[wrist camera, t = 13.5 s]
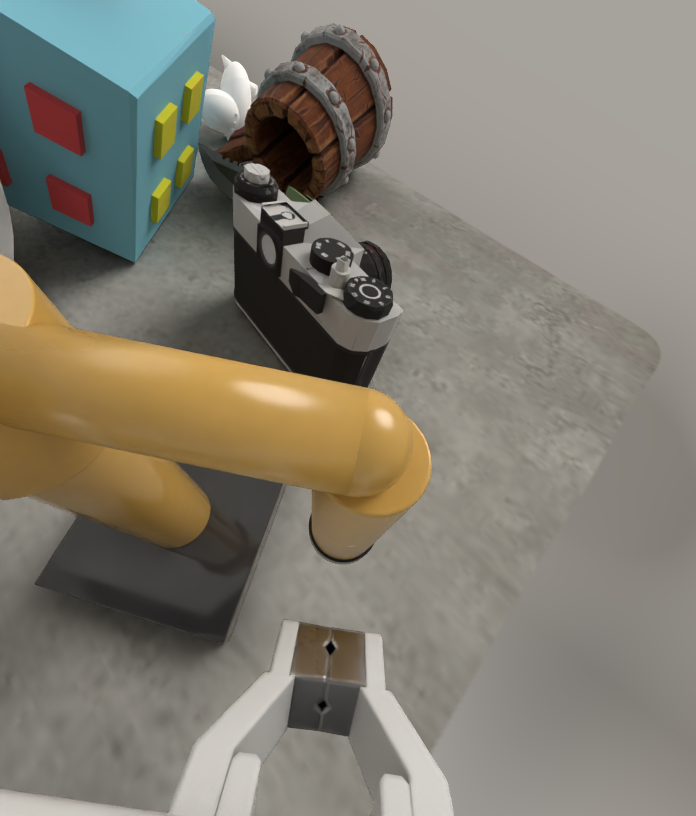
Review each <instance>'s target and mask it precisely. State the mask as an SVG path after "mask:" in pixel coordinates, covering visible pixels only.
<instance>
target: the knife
mask: <svg viewBox="0 0 696 816" xmlns="http://www.w3.org/2000/svg"><path fill="white" fill-rule="evenodd" d="M199 150H200V155H201V159H202V162H203V164H204V167H205V169H206V171H207V173H208V175H209V177H210V179H211V180H212V181H213V182H214V183H215V184H216V186H217V187H218V188H219V189H220V190H221V191H223V192H224V193H225V194H226V195H227V196H229V197H230V198H231V199H232V200H233V185H234V178H235V176H236V175H237V173H238V172H239V171H242V170H244V165H243V164H241V165H240V166H239V163H238V162H236V161H233V163H231V159H229V158H227V157H226V159H225V160H224V156H223V155H221V154H219V153H217V152H216V151H214V150H212V149H210V148H208V147H206V146H204V145H202V144H200V143H199ZM285 196H287V197H288V198H289V199H290V200H291V201H294V202H306V203H310V202H312V201H313V199H312V198H311V197H309V196H308V195H306V198H305V197H304V196H303V195H302V194H300V193H299V192H298V191H296V190H295V189H294V188H293V187H291V186H288V189H287V191H286V193H285ZM329 213H330V212H329ZM330 214H331V213H330ZM331 215H332V214H331ZM332 216H333V215H332Z"/></svg>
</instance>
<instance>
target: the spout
mask: <svg viewBox="0 0 696 816" xmlns="http://www.w3.org/2000/svg"><path fill="white" fill-rule="evenodd" d="M106 447H107V448H112V449H117V450H121V451H126V452H131V453H136V454H141V455H146V456H151V457H156V458H160V459H165V460H170V461H175V462H180V463H185V464H190V465H195V466H199V467H204V468H209V469H214V470H219V471H224V472H229V473H234V474H238V475H243V476H248V477H253V478H258V479H263V480H268V481H273V482H277V483H282V484H287V485H292V486H297V487H302V488H307V489H311V490H312V513H311V516H310V521H309V535H310V540H311V542H312V545H313V547H314V548H315V550H316V551H317V553H318V554H319V555H320V556H322V557H323V558H324V559H326V560H327V561H329V562H332V563H335V564H350V563H353V562H356V561H358V560H359V559H361V558H362V557H363V556H365V555H366V554H367V553H368V552H369V551H370V549H371V548H372V546H373V545H374V543H375V542H376V541H377V540H378V539H379V538H380V537H381V536H382V535H383V534H384V533H385V532H386V531H387V530H388V529H389V528H390V527H391V526H392V525H393V524H394V523H395V522H396V521H397V520H398V519H399V518H400V517H402V516H403V515H404V514H405V513H406V512H407V511H408V510H409V509H410V508H411V507H412V506H413V505H414V504H415V503H416V502H417V501H418V500H419V499H420V498H421V496H422V495H423V493H424V492H425V490H426V488H427V486H428V484H429V481H430V477H431V471H432V459H431V453H430V449H429V445H428V443H427V441H426V438H425V437H424V435H423V433H422V432H421V430H420V429H419V428H418V426H417V425H416V424H415V423H414V422H413V421H412V420H411V419H409V418H408V417H407V416H406V415H405V413H404V411H403V410H402V409H401V407H400V406H399V405H398V404H397V403H396V402H395V401H394V400H393V399H391V398H390V397H389V396H387V395H385V394H383V393H382V392H380V391H377V390H374V389H370V388H366V387H361V386H356V385H351V384H346V383H341V382H336V381H331V380H326V379H321V378H317V377H312V376H307V375H302V374H297V373H292V372H287V371H282V370H277V369H272V368H267V367H262V366H257V365H253V364H248V363H243V362H238V361H233V360H228V359H223V358H218V357H213V356H208V355H203V354H198V353H193V352H189V351H184V350H179V349H174V348H169V347H164V346H159V345H154V344H149V343H144V342H139V341H134V340H129V339H124V338H120V337H115V336H110V335H105V334H100V333H95V332H90V331H85V330H80V329H75V328H73V327H72V325H71V324H70V323H69V322H68V321H67V320H66V318H65V317H64V316H63V315H62V314H61V313H60V311H59V310H58V309H57V308H56V307H55V306H54V304H53V303H52V302H51V301H50V300H49V299H48V297H47V296H46V295H45V294H44V293H43V292H42V290H41V289H40V288H39V287H38V286H37V285H36V283H35V282H34V281H33V280H32V279H31V278H30V276H29V275H28V274H27V273H26V272H25V271H24V269H23V268H22V267H21V266H19V265H18V264H17V263H15V262H14V261H13V260H11V259H9V258H7V257H5V256H4V255H2V254H0V500H6V499H15V498H21V497H26V496H30V495H34V494H37V493H40V492H43V491H46V490H48V489H51V488H53V487H55V486H57V485H59V484H61V483H63V482H65V481H67V480H69V479H70V478H72V477H73V476H75V475H76V474H78V473H79V472H81V471H82V470H83V469H85V468H86V467H87V466H88V465H89V464H91V463H92V462H93V461H94V460H95V459H96V458H97V457H98V456H99V455H100V454H101V453H102V451H103V450H104V449H105V448H106Z"/></svg>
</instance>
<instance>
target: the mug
mask: <svg viewBox="0 0 696 816" xmlns="http://www.w3.org/2000/svg"><path fill="white" fill-rule="evenodd" d="M264 75H265V80H264V81H263V82H262V83H261V85H260V89H259V92H258V96H257V99H256V100H255V101H254V102H253V103H252V104H251V105H250V107H251V108H250V109H249V110H248V111H247V114H246V118H245V121H244V122H245V125H244V126H243V127H242V128H240V129H238V130H235V131H234V132H233V134H232V135H231V136H230V138H229V140H228V142H229V143H227V144H226V145H224V146H223V147H222V148H220V149H218V150H216V152H217V153H219V154H221V155H223V156H224V160H225V159H226V157H227V158H229V159H231V163H233V161H236V162H238V163H242V162H246V161H254V163H255V164H260V165H263V166H265V167H266V168H268V169H269V170H270V175H271V176H272V177H273V178H274V179H275V181H276V183H277V185H278V187H279V190H280V191H281V192H282V193H283V192H284V194H285V193H286V191H287V189H288V186H291V187H293V188H294V189H295V190H296V191H298V192H299V193H300V194H302V195H303V196H304V197H305V198H306V195H308V196H309V197H311V198H312V199H313V200H315V199H316V198H317V197H318V196H319V195H321V196H325V195H326V194H328V193H330V192H332V191H334V190H336V189H337V188H339V187H340V186H341V185H342V184H346V183H347V182H348V180H349V177H348V176H349V175H350V173H351V172H352V170H353V169H356V168H358V167H360V166H362V165H364V164H366V163H368V162H369V161H370V160H371V159H373V158H374V159H376V158H378V156H379V153H380V152H379V150H380V149H381V148H382V146H383V145H384V144H385V140H386V137H387V134H388V130H389V127H390V123H391V118H392V97H391V96H390V94H389V92H390V90H391V85H390V81H389V77H388V73H387V69H386V67H385V66H384V64H383V62H382V60H381V58H380V56H379V54H378V52H377V50H376V49H375V47H374V46H373V45H372V44H371V43H370V42H369V41H368V40H367V39H366V38H365V37H364V36H363V35H361V36H360V37H359V36H358V35H357V34H356V31H355V30H353V29H350V28H347V27H344V26H342V25H337V24H334V23H333V24H329V25H325V26H320V27H316V28H315V29H314V30H313V31H312V32H311V33H310V34H309V33H308V32H303V33H302V35H301V43H300V44H299V45H298V46H297V47H296V48H295V51H294V53H293V56H292V59H291V62H287V63H281V64H280V65H279V66H278V67H277V68H276V69H275V70H274V71H273V70H271V69H267V70H266V71H265V74H264Z"/></svg>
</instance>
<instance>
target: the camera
mask: <svg viewBox="0 0 696 816" xmlns="http://www.w3.org/2000/svg"><path fill="white" fill-rule="evenodd" d="M233 230H234V265H235V288H234V301H235V302H236V304H237V305H238V306H239V307H240V309H241V310H242V311H243V313H244V314H245V315H246V316H247V318H248V319H249V320H250V322H251V323H252V324H253V325H254V327H255V328H256V329H257V330H258V332H259V333H260V334H261V336H262V337H263V338H264V339H265V341H266V342H267V343H268V345H269V346H270V347H271V348H272V350H273V351H274V352H275V354H276V355H277V356H278V357H279V359H280V360H281V361H282V363H283V364H284V365H285V366H286V368H287V369H288V370H289V372H292V373H297V374H302V375H307V376H312V377H317V378H321V379H326V380H331V381H336V382H341V383H346V384H351V385H356V386H361V387H366V388H368V385H369V383H370V381H371V379H372V377H373V375H374V373H375V370H376V368H377V366H378V364H379V362H380V360H381V358H382V355H383V353H384V351H385V349H386V347H387V345H388V343H389V340H390V338H391V336H392V334H393V332H394V330H395V328H396V326H397V323H398V321H399V319H400V317H401V315H402V313H403V310H402V309H401V308H400V307H399V306H398V305H397V304H396V303H395V302H394V301H393V293H392V291H391V290H390V288H391V283H392V270H391V266H390V261H389V260H388V258H387V256H386V254H385V253H384V252H383V251H382V250H381V248H380V247H378V246H377V245H375V244H373V243H371V242H370V241H365V242H357V241H356V240H355V239H354V238H353V237H352V236H351V235H350V234H349V233H348V232H347V231H346V230H345V229H344V227H343V226H342V225H341V224H340V223H339V222H338V221H337V220H336V219H335V218H334V217H333V216H332V215H331V214H330V213H329V212H328V211H327V210H326V209H325V208H323V207H322V206H321V205H320V204H319V203H318V202H317V201H316V200H313V201H312V202H310V203H306V202H294V201H291V200H290V199H289V198H288V197H287V196H285V195H284V194H283V193H282V192H281V191H280V190H279V187H278V185H277V183H276V181H275V179H274V178H273V177H272V176H271V175H270V170H269V169H268V168H266V167H265V166H263V165H260V164H253V163H250V164H249V163H248V164H246V165H245V166H244V170H242V171H239V172H238V173H237V175H236V176H235V178H234V185H233Z"/></svg>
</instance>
